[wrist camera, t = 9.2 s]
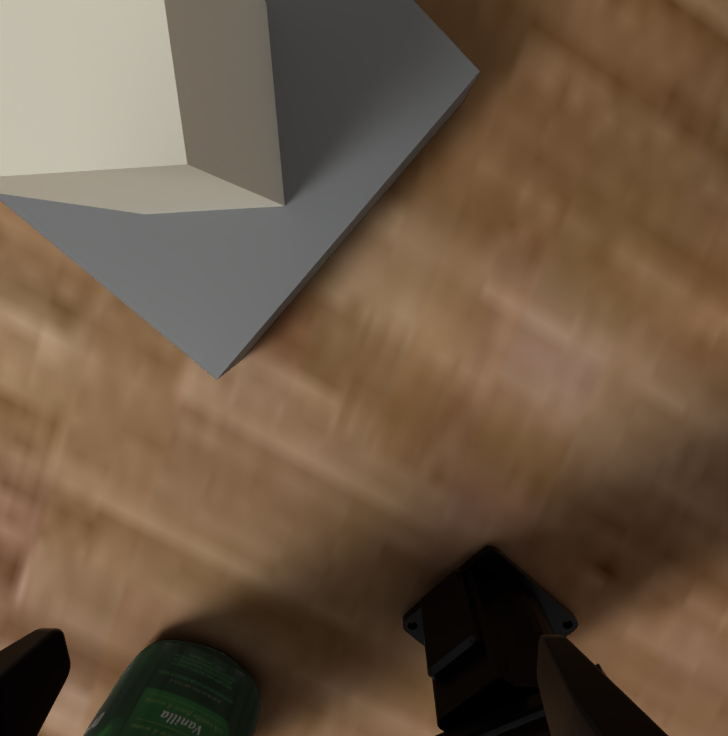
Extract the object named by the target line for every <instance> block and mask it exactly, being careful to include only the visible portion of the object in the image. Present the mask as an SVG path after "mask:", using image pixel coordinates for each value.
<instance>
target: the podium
mask: <svg viewBox="0 0 728 736" xmlns="http://www.w3.org/2000/svg"><path fill="white" fill-rule="evenodd" d="M265 2H266V5H267V16H268V27H269V38H270V49H271V60H272V71H273V82H274V93H275V104H276V115H277V126H278V137H279V148H280V159H281V170H282V181H283V192H284V203H285V206H279V207H261V208H244V209H227V210H210V211H193V212H176V213H159V214H140V213H133V212H126V211H119V210H112V209H105V208H98V207H91V206H84V205H77V204H69V203H62V202H55V201H48V200H41V199H34V198H27V197H20V196H13V195H6V194H0V201H2V202H3V203H4V204H5V205H6V206H8V207H9V208H10V209H11V210H13V211H14V212H15V213H16V214H17V215H19V216H20V217H21V218H22V219H23V220H25V221H26V222H27V223H28V224H29V225H31V226H32V227H33V228H34V229H35V230H37V231H38V232H39V233H40V234H41V235H43V236H44V237H45V238H46V239H48V240H49V241H50V242H51V243H52V244H54V245H55V246H56V247H57V248H58V249H60V250H61V251H62V252H63V253H64V254H66V255H67V256H68V257H69V258H70V259H72V260H73V261H74V262H75V263H76V264H78V265H79V266H80V267H81V268H83V269H84V270H85V271H86V272H87V273H89V274H90V275H91V276H92V277H93V278H95V279H96V280H97V281H98V282H99V283H101V284H102V285H103V286H104V287H105V288H107V289H108V290H109V291H110V292H111V293H113V294H114V295H115V296H116V297H118V298H119V299H120V300H121V301H122V302H124V303H125V304H126V305H127V306H128V307H130V308H131V309H132V310H133V311H134V312H136V313H137V314H138V315H139V316H140V317H142V318H143V319H144V320H145V321H146V322H148V323H149V324H150V325H151V326H153V327H154V328H155V329H156V330H157V331H159V332H160V333H161V334H162V335H163V336H165V337H166V338H167V339H168V340H169V341H171V342H172V343H173V344H174V345H175V346H177V347H178V348H179V349H180V350H181V351H183V352H184V353H185V354H186V355H188V356H189V357H190V358H191V359H192V360H194V361H195V362H196V363H197V364H198V365H200V366H201V367H202V368H203V369H204V370H206V371H207V372H208V373H209V374H210V375H212V376H213V377H214V378H215V379H216V380H217V379H218V378H220V377H221V376H222V375H224V374H225V373H226V372H227V371H229V370H230V369H231V368H232V367H234V366H235V365H236V364H237V363H239V362H240V361H241V360H242V359H243V358H244V356H245V355H246V354H247V353H248V352H249V351H250V349H251V348H252V347H253V346H254V345H255V344H256V342H257V341H258V340H259V339H260V338H261V337H262V335H263V334H264V333H265V332H266V331H267V330H268V328H269V327H270V326H271V325H272V324H273V323H274V322H275V320H276V319H277V318H278V317H279V316H280V315H281V313H282V312H283V311H284V310H285V309H286V308H287V306H288V305H289V304H290V303H291V302H292V301H293V299H294V298H295V297H296V296H297V295H298V294H299V292H300V291H301V290H302V289H303V288H304V287H305V285H306V284H307V283H308V282H309V281H310V280H311V278H312V277H313V276H314V275H315V274H316V273H317V271H318V270H319V269H320V268H321V267H322V266H323V264H324V263H325V262H326V261H327V260H328V259H329V257H330V256H331V255H332V254H333V253H334V252H335V250H336V249H337V248H338V247H339V246H340V245H341V243H342V242H343V241H344V240H345V239H346V238H347V236H348V235H349V234H350V233H351V232H352V231H353V229H354V228H355V227H356V226H357V225H358V224H359V222H360V221H361V220H362V219H363V218H364V217H365V215H366V214H367V213H368V212H369V211H370V210H371V208H372V207H373V206H374V205H375V204H376V203H377V201H378V200H379V199H380V198H381V197H382V196H383V194H384V193H385V192H386V191H387V190H388V189H389V187H390V186H391V185H392V184H393V183H394V182H395V181H396V179H397V178H398V177H399V176H400V175H401V174H402V172H403V171H404V170H405V169H406V168H407V167H408V165H409V164H410V163H411V162H412V161H413V160H414V158H415V157H416V156H417V155H418V154H419V153H420V151H421V150H422V149H423V148H424V147H425V146H426V144H427V143H428V142H429V141H430V140H431V139H432V137H433V136H434V135H435V134H436V133H437V132H438V130H439V129H440V128H441V127H442V126H443V125H444V123H445V122H446V121H447V120H448V119H449V118H450V116H451V115H452V114H453V113H454V112H455V111H456V109H457V108H458V107H459V106H460V105H461V104H462V102H463V101H464V99H465V98H466V96H467V94H468V92H469V90H470V89H471V87H472V85H473V83H474V81H475V79H476V78H477V76H478V74H479V72H480V71H479V70H478V69H477V68H476V66H475V65H474V64H473V63H472V62H471V61H470V60H469V59H468V58H467V57H466V56H465V55H464V54H463V53H462V51H461V50H460V49H459V48H458V47H457V46H456V45H455V44H454V43H453V42H452V41H451V40H450V39H449V37H448V36H447V35H446V34H445V33H444V32H443V31H442V30H441V29H440V28H439V27H438V26H437V25H436V24H435V22H434V21H433V20H432V19H431V18H430V17H429V16H428V15H427V14H426V13H425V12H424V11H423V10H422V9H421V7H420V6H419V5H418V4H417V3H416V2H415V1H414V0H265Z"/></svg>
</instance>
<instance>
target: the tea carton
mask: <svg viewBox="0 0 728 736" xmlns="http://www.w3.org/2000/svg"><path fill="white" fill-rule="evenodd" d="M0 194H6V195H13V196H20V197H27V198H34V199H41V200H48V201H55V202H62V203H69V204H77V205H84V206H91V207H98V208H105V209H112V210H119V211H126V212H133V213H140V214H159V213H176V212H193V211H210V210H227V209H244V208H261V207H279V206H285V203H284V192H283V181H282V170H281V159H280V148H279V137H278V126H277V115H276V104H275V93H274V82H273V71H272V60H271V49H270V38H269V27H268V16H267V5H266V2H265V0H0Z"/></svg>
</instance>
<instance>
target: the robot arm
mask: <svg viewBox="0 0 728 736" xmlns="http://www.w3.org/2000/svg"><path fill="white" fill-rule="evenodd" d="M491 555H493V556H494V557H493V558H491V559H487V557H488V556H491ZM565 621H568V622H565ZM410 622H415V623H410ZM577 626H578V623H577V620H576V618H575V616H574V615H573V613H572V612H571V611H570V610H568V609H567V608H566V607H565V606H564V605H563V604H561V603H560V602H559V601H558V600H557V599H556V598H554V597H553V596H552V595H551V594H550V593H549V592H547V591H546V590H545V589H544V588H543V587H542V586H540V585H539V584H538V583H537V582H536V581H535V580H533V579H532V578H531V577H530V576H529V575H528V574H526V573H525V572H524V571H523V570H522V569H521V568H519V567H518V566H517V565H516V564H515V563H514V562H512V561H511V560H510V559H509V558H508V557H507V556H505V555H504V554H503V553H502V552H501V551H500V550H498V549H497V548H496V547H494V546H486V547H484V548H482V549H481V550H480V551H479V552H478V553H476V554H475V555H474V556H473V557H472V558H470V559H469V560H468V561H467V562H466V563H465V564H463V565H462V566H461V567H460V568H459V569H458V570H456V571H454V572H452V573H451V574H450V575H449V576H448V577H447V578H445V579H444V580H443V581H442V582H441V583H440V584H438V585H437V586H436V587H435V588H434V589H432V590H431V591H430V592H429V593H428V594H427V595H425V596H424V597H423V598H422V599H421V601H420V602H419V603H417V604H416V605H415V606H414V607H413V608H412V609H410V610H409V611H408V612H407V613H406V614H405V615H404V616H403V628H404V630H405V631H406V632H407V633H409V634H410V635H411V636H412V637H414V638H415V639H416V640H417V641H419V642H420V643H421V644H423V645H424V646H425V652H426V662H427V671H428V675H429V676H430V677H431V678H432V682H433V690H434V699H435V708H436V717H437V726H438V727H439V728H440V729H441V730H442V731H444V732H443V733H441V734H438V735H436V736H668V735H667V734H666V733H665V732H664V731H663V730H662V729H661V728H660V727H659V726H658V725H657V724H656V723H655V722H654V721H653V720H651V719H650V718H649V717H648V716H647V715H646V714H645V713H644V712H643V711H642V710H641V709H640V708H639V707H638V706H637V705H636V704H635V703H634V702H633V701H632V700H631V699H630V698H629V697H628V696H627V695H626V694H624V693H623V692H622V691H621V690H620V689H619V688H618V687H617V686H616V685H615V684H614V683H613V682H612V681H611V680H610V679H609V678H608V677H607V676H606V674H605V673H604V671H603V669H602V668H601V666H600V665H599V664H596V665H594V664H593V663H592V662H591V661H590V660H589V659H588V658H587V657H586V656H585V655H584V654H583V653H582V652H581V651H580V650H579V649H578V648H577V647H576V646H575V645H574V644H573V643H572V642H570V641H569V640H568V639H567V638H566V636H568V635H569V634H570V633H572V632H573V631H574V630H575V629H576V628H577ZM69 671H70V658H69V653H68V649H67V645H66V641H65V637H64V633H63V632H62V631H61V630H60V629H57V628H41V629H37V630H35V631H33V632H31V633H30V634H28V635H26V636H25V637H23V638H21V639H20V640H18V641H16V642H15V643H13V644H11V645H9V646H8V647H6V648H4V649H3V650H1V651H0V736H37V735H38V733H39V731H40V729H41V727H42V725H43V723H44V721H45V719H46V717H47V716H48V714H49V712H50V710H51V708H52V706H53V704H54V702H55V700H56V698H57V696H58V695H59V693H60V691H61V689H62V687H63V685H64V683H65V681H66V679H67V677H68V674H69Z"/></svg>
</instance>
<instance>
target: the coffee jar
mask: <svg viewBox="0 0 728 736" xmlns="http://www.w3.org/2000/svg"><path fill="white" fill-rule="evenodd" d="M260 708H261V696H260V690H259V689H258V686H257V684H256V682H255V681H254V679H253V678H252V677H251V676H250V675H249V673H247V672H246V671H245V670H244V669H242V668H241V667H240V666H239V665H238V664H237V663H236V662H235V661H234V660H232V659H230V658H229V657H227V656H226V655H225V654H223V653H221V652H219V651H217V650H215V649H212V648H210V647H207V646H204V645H202V644H197V643H190V642H186V641H181V640H162V641H158V642H155V643H153V644H151V645H149V646H148V647H146V648H145V649H144V650H142V651H141V652H140V653H139V654H138V655H137V656H136V657H135V659H134V660H133V661H132V662H131V664H130V665H129V666H128V667H127V669H126V670H125V671H124V673H123V674H122V676H121V677H120V679H119V680H118V682H117V683H116V685H115V687H114V688H113V690H112V691H111V693H110V694H109V696H108V698H107V699H106V701H105V702H104V704H103V705H102V707H101V708H100V710H99V711H98V713H97V715H96V716H95V718H94V719H93V721H92V722H91V724H90V726H89V727H88V729H87V730H86V732H85V734H84V735H83V736H253V734H254V731H255V727H256V724H257V720H258V717H259V713H260Z"/></svg>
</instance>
